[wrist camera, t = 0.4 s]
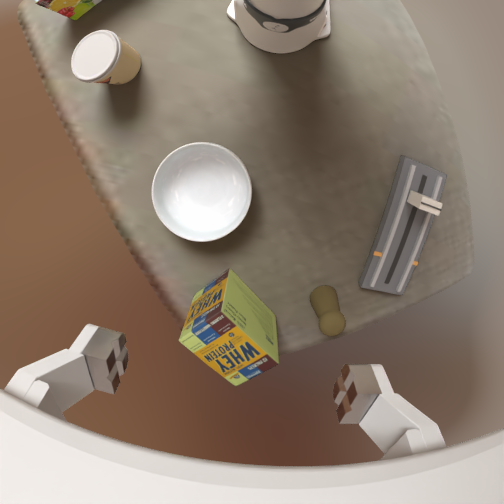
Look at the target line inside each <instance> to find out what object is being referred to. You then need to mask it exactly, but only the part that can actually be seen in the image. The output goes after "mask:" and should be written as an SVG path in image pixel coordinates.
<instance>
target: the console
mask: <svg viewBox="0 0 504 504" xmlns="http://www.w3.org/2000/svg"><path fill="white" fill-rule="evenodd" d="M446 178H447V174H444V173H442V172H440V171H438V170H436V169H433V168H431V167H429V166H427V165H424V164H422V163H420V162H417V161H415V160H412V159H410V158H408V157H405V156H401V157H400V161H399V164H398V168H397V171H396V175H395V178H394V182H393V185H392V189H391V192H390V195H389V198H388V202H387V205H386V208H385V211H384V214H383V217H382V220H381V223H380V226H379V229H378V232H377V235H376V238H375V240H374V243H373V246H372V249H371V251H370V254H369V257H368V259H367V262H366V265H365V267H364V270H363V272H362V275H361V278H360V280H359V285H360V287H361V288H366V289H372V290H377V291H382V292H388V293H393V294H398V295H403V293H404V291H405V289H406V287H407V285H408V282H409V280H410V278H411V275H412V273H413V271H414V268H415V266H416V265H412V264H413V261H418V259H419V256H420V254H421V251H422V249H423V246H424V244H425V241H426V238H427V236H428V233H429V230H430V228H431V225H432V222H433V219H434V216H435V214H432V213H430V212H427V211H424V210H421V209H419V208H417V207H415V206H414V205H412V204H410V203H408V202H407V200H408V196H409V193H410V190H412V191H414V192H417V193H420V194H422V195H425V196H428V197H430V198H432V199H434V200H436V201H438V202H439V201H440V198H441V195H442V191H443V188H444V185H445V181H446ZM374 251H377V252H381V253H382V256H381V257H379V256H375V255H373V254H374Z"/></svg>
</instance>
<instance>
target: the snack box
mask: <svg viewBox="0 0 504 504" xmlns="http://www.w3.org/2000/svg"><path fill="white" fill-rule="evenodd" d="M100 1H102V0H35V2H36V4H38V5H40V6H43V7H45V8H48V9H50V10H52V11H55V12H57V13H59V14H62V15H64V16H66V17H69V18H71V19H73V20H77V19H78V18H79V17H81V16H82V15H83V14H84V13H86V12H87V11H88V10H90V9H91V8H92V7H94V6H95V5H96V4H98V3H99V2H100Z"/></svg>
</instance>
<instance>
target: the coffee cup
mask: <svg viewBox="0 0 504 504" xmlns="http://www.w3.org/2000/svg"><path fill="white" fill-rule="evenodd" d="M140 66H141V58H140V55H139V54H138V52H137V51H136V50H134V49H133V48H132V47H131V46H129V45H128V44H127V43H126V42H124V41H123V40H122V39H120V38H119V37H118V36H117V35H116V34H115V33H113V32H111V31H108V30H99V31H95V32H92V33H90V34H88V35H87V36H85V37H84V38H83V39H82V40H81V41H80V42H79V43H78V45H77V46H76V48H75V50H74V52H73V55H72V59H71V67H72V71H73V73H74V75H75V76H76V77H77V78H78V79H79V80H80V81H83V82H87V83H92V82H95V83H107V84H125V83H127V82H129V81H131V80H132V79H133V78H134V77H135V76H136V75H137V73H138V71H139V69H140Z"/></svg>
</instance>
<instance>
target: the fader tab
mask: <svg viewBox="0 0 504 504" xmlns="http://www.w3.org/2000/svg"><path fill="white" fill-rule="evenodd" d="M407 202H408V203H410V204H412V205H414V206H415V207H417V208H419V209H421V210H424V211H427V212H430V213H432V214H435V215H438V216H439V213H440V211H441V207H442V203H440V202H438V201H436V200H434V199H432V198H430V197H428V196H425V195H422V194H420V193H417V192H414V191H412V190H410V193H409V196H408V200H407Z"/></svg>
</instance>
